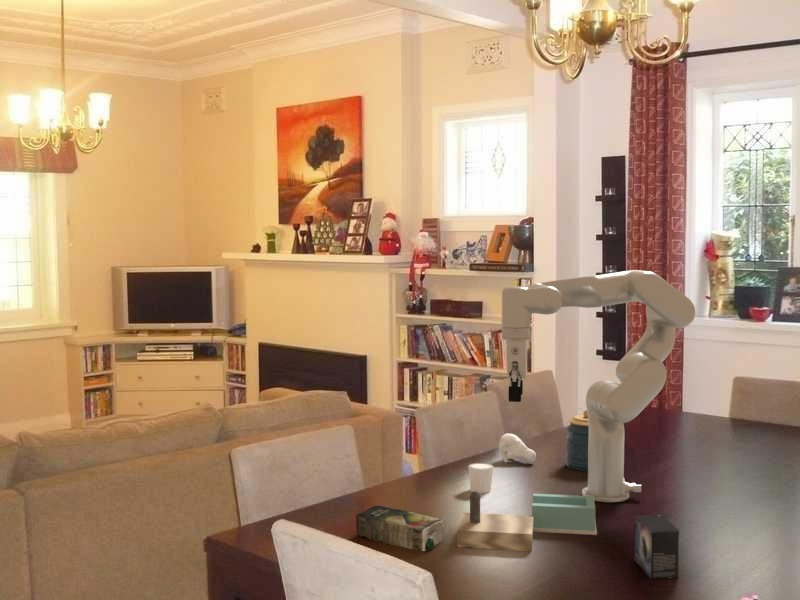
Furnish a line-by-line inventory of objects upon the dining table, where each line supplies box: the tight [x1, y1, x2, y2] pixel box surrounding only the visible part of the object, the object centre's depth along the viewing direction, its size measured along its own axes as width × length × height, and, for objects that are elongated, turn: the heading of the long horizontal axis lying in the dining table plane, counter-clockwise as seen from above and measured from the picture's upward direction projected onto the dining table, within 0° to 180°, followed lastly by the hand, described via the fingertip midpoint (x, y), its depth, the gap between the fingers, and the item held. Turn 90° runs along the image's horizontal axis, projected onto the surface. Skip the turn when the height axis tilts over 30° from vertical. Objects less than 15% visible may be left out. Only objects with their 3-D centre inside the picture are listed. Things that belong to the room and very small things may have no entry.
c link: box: [531, 493, 596, 531], centre depth 224 cm, size 15×10×6 cm, turn 80°
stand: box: [456, 491, 534, 552], centre depth 214 cm, size 17×13×11 cm
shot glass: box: [467, 462, 494, 494], centre depth 253 cm, size 7×7×7 cm
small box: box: [634, 514, 680, 580], centre depth 195 cm, size 11×6×10 cm, turn 5°
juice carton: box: [355, 504, 445, 552], centre depth 215 cm, size 20×10×6 cm, turn 57°
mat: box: [533, 519, 598, 536], centre depth 224 cm, size 15×12×1 cm
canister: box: [565, 409, 589, 472], centre depth 277 cm, size 13×13×18 cm
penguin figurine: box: [498, 433, 537, 465], centre depth 283 cm, size 6×8×12 cm
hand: (515, 397), depth 240 cm, fingers open, 9 cm apart
